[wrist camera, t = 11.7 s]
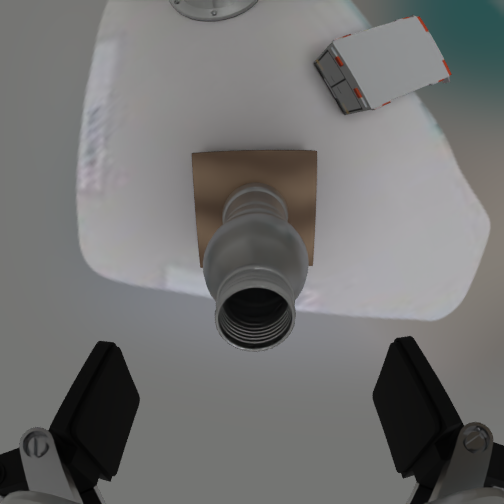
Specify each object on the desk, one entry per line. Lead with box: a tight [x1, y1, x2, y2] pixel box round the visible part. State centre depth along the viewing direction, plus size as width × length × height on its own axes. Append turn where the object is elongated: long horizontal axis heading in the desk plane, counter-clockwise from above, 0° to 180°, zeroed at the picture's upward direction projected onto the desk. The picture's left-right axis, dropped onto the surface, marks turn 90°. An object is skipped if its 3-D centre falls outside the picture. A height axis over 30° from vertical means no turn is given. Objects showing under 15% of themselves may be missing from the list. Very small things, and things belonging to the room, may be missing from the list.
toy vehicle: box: [314, 15, 451, 115], centre depth 25 cm, size 10×17×10 cm, turn 121°
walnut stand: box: [192, 150, 317, 268], centre depth 34 cm, size 13×13×6 cm
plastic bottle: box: [203, 183, 309, 352], centre depth 22 cm, size 6×7×20 cm
